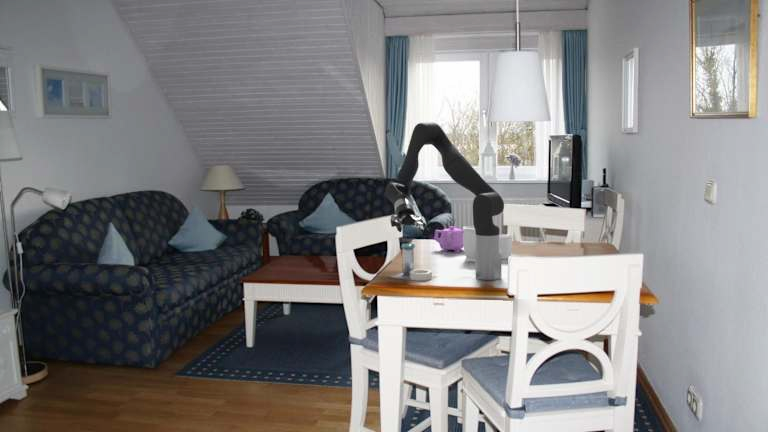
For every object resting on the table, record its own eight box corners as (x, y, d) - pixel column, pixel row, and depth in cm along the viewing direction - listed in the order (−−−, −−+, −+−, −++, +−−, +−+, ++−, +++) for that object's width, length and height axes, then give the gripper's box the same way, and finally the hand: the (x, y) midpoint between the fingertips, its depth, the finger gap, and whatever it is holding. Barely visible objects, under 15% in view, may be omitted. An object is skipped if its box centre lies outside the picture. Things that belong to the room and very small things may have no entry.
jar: (458, 260, 305) (457, 227, 303) (472, 257, 312) (472, 224, 310) (477, 264, 297) (477, 229, 295) (491, 260, 304) (491, 226, 302)
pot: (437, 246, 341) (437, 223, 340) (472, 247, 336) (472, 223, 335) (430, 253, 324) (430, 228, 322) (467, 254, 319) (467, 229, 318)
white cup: (512, 259, 305) (512, 237, 304) (494, 259, 307) (494, 237, 305) (512, 256, 313) (512, 234, 311) (494, 256, 314) (494, 234, 313)
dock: (438, 279, 269) (438, 270, 268) (424, 284, 261) (424, 275, 260) (403, 275, 278) (403, 266, 277) (389, 280, 270) (389, 270, 269)
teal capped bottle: (417, 274, 274) (417, 244, 272) (410, 276, 270) (410, 246, 268) (406, 272, 277) (406, 243, 275) (399, 275, 273) (399, 245, 271)
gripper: (389, 201, 286) (395, 221, 272) (422, 204, 289) (430, 224, 275) (386, 217, 290) (392, 237, 276) (419, 219, 293) (426, 239, 279)
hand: (411, 231), depth 276 cm, fingers open, 8 cm apart
